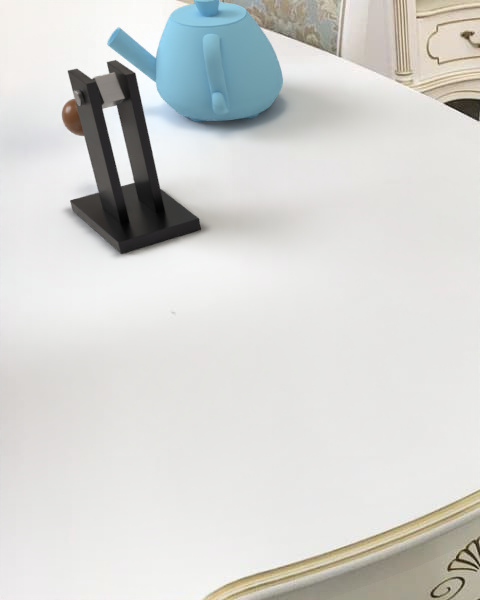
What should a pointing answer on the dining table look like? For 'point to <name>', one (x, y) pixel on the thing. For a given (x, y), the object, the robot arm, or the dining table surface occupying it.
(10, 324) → the dining table surface
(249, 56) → the teapot
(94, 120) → the bracket
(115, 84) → the lever
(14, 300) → the dining table surface
